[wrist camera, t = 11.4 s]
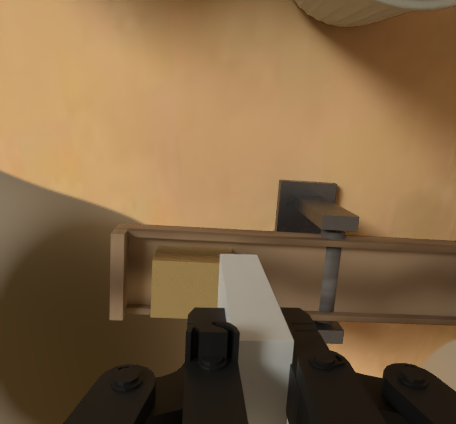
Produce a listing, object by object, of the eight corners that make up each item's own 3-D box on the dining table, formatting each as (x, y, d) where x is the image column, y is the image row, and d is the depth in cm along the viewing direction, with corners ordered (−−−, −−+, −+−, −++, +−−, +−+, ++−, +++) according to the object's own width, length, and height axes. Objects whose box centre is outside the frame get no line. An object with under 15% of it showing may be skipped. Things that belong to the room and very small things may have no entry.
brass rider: (158, 245, 33) (152, 260, 30) (231, 248, 34) (235, 264, 30) (156, 295, 34) (150, 317, 30) (227, 298, 35) (231, 320, 31)
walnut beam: (120, 216, 35) (104, 233, 29) (522, 238, 37) (580, 257, 32) (118, 305, 36) (103, 338, 30) (505, 320, 39) (557, 352, 33)
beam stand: (279, 179, 44) (306, 196, 33) (334, 183, 44) (379, 201, 33) (267, 302, 47) (289, 357, 35) (319, 304, 47) (357, 359, 36)
